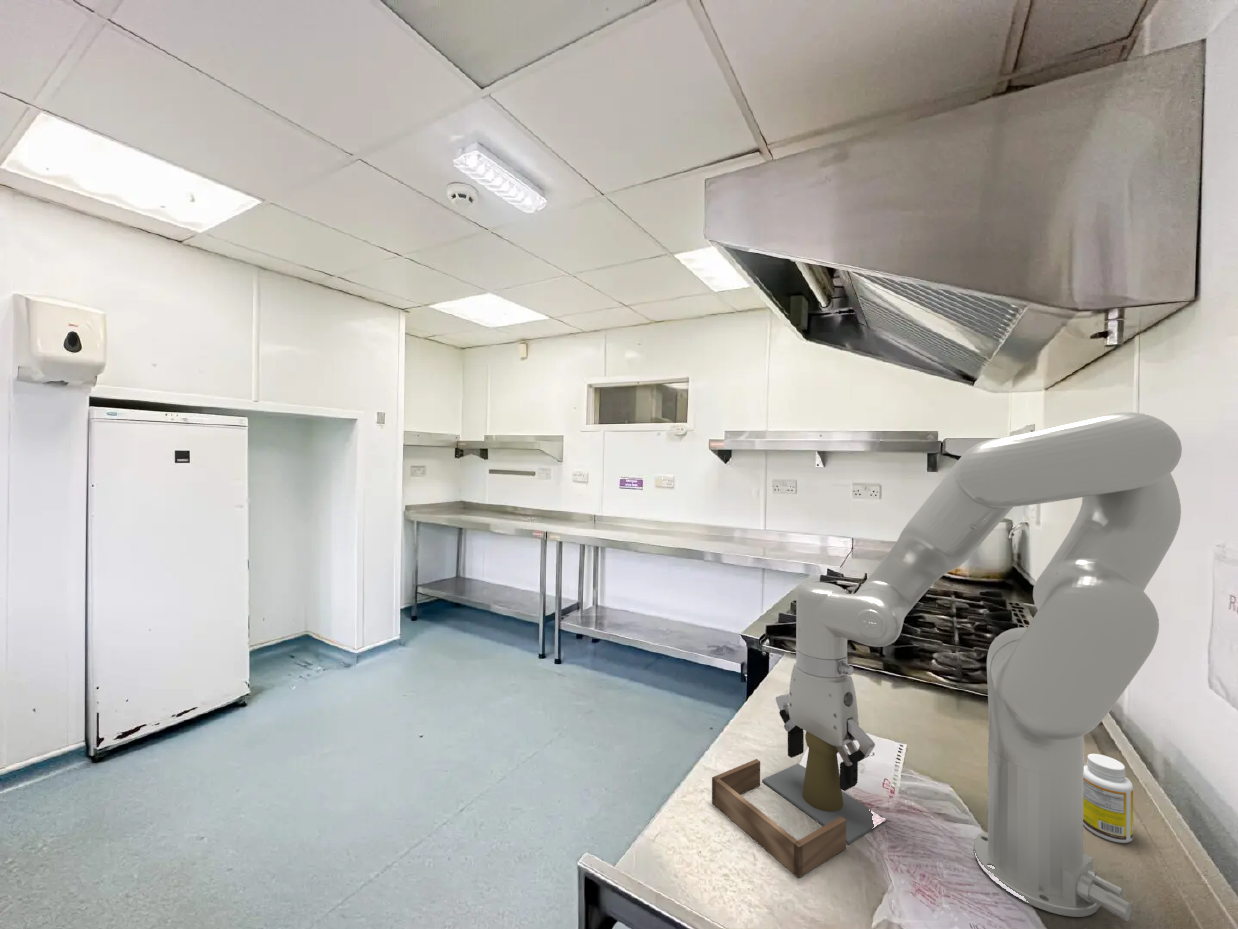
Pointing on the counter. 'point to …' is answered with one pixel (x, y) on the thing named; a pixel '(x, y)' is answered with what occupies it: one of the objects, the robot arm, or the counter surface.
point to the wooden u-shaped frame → (765, 831)
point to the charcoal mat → (792, 788)
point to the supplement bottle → (1107, 799)
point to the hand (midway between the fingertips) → (820, 770)
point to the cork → (822, 776)
